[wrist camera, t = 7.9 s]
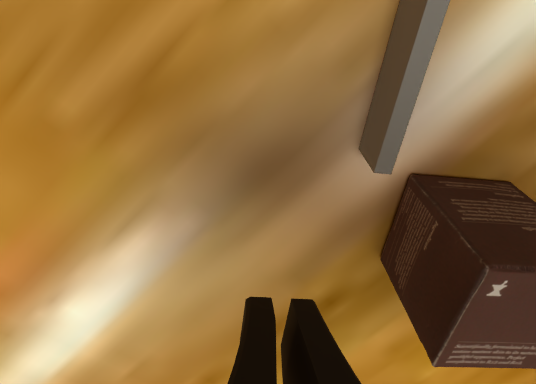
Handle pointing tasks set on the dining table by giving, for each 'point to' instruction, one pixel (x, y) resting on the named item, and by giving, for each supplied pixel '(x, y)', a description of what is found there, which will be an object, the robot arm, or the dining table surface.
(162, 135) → the dining table surface
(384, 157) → the grey arch frame
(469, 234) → the box
